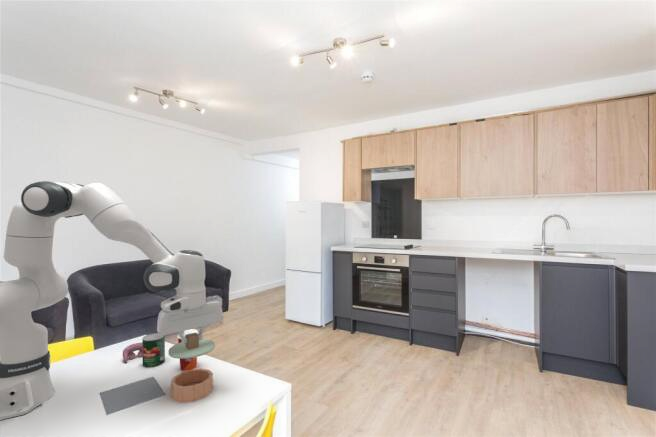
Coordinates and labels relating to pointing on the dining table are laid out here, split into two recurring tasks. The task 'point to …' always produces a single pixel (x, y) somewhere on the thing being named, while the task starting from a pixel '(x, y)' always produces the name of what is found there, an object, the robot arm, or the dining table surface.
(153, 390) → the mat
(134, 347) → the video game controller
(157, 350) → the canned tomato
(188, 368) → the paper cup
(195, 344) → the cover
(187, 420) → the dining table surface
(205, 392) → the bowl
